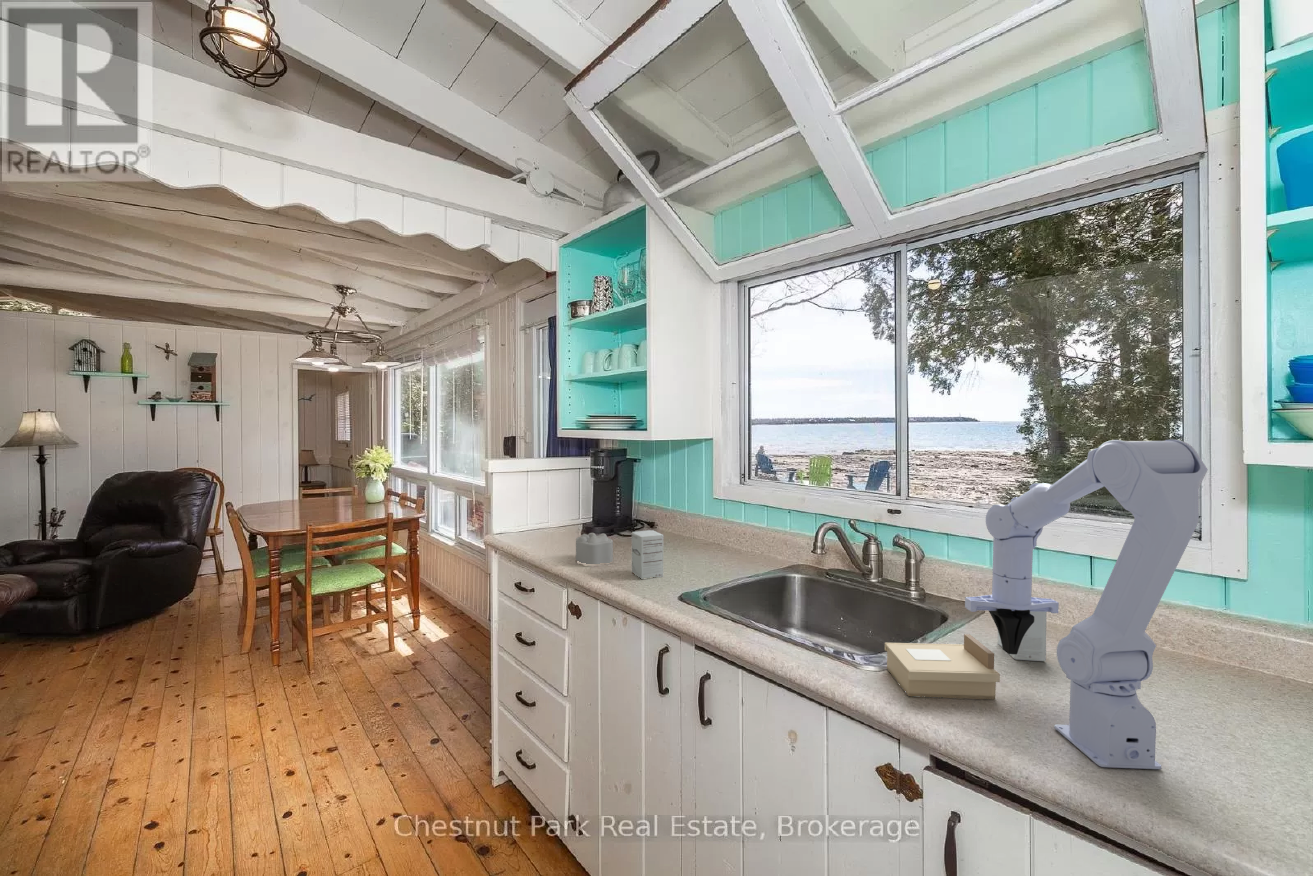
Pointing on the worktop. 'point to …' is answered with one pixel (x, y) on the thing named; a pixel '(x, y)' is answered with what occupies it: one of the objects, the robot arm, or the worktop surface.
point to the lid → (946, 661)
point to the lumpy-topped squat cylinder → (594, 549)
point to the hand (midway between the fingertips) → (1009, 651)
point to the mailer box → (939, 685)
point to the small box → (1033, 640)
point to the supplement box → (647, 554)
